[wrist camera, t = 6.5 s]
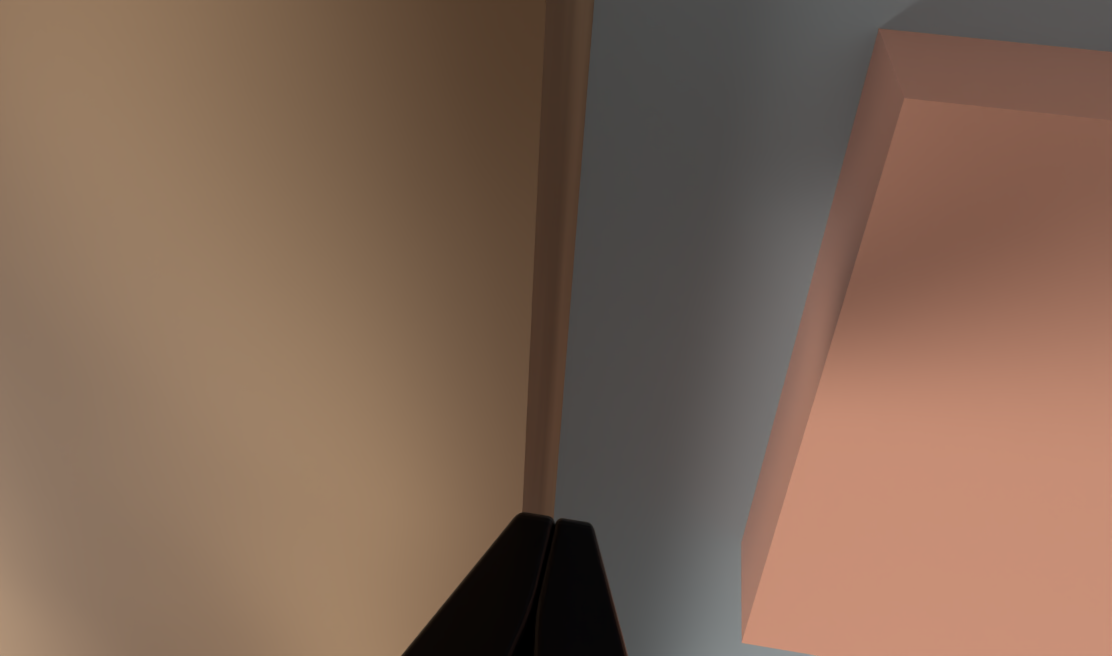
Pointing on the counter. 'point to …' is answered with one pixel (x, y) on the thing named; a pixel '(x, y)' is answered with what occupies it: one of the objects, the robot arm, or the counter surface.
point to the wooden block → (276, 313)
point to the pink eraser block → (950, 371)
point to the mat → (714, 270)
